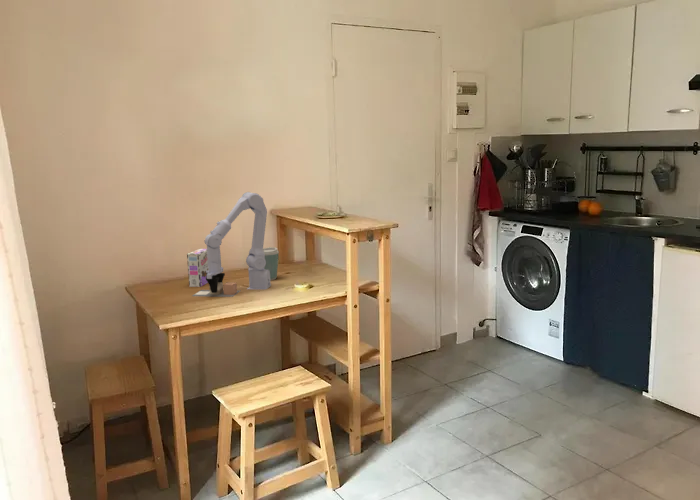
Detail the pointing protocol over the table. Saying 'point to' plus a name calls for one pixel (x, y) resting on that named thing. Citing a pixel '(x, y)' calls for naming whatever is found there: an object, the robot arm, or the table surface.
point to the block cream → (218, 289)
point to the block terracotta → (230, 288)
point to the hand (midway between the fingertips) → (216, 291)
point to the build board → (207, 293)
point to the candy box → (197, 267)
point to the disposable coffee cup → (271, 261)
